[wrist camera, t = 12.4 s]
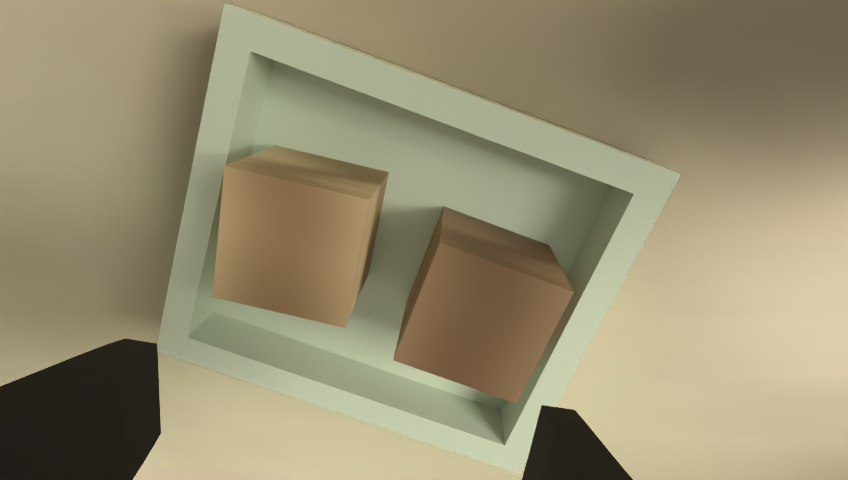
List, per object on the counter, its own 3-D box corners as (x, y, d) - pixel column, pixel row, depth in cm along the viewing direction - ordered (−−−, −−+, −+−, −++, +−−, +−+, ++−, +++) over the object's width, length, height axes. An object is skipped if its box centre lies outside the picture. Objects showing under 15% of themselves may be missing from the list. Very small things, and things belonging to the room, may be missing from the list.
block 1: (389, 172, 17) (369, 199, 13) (367, 275, 18) (344, 327, 15) (275, 145, 17) (224, 165, 13) (262, 251, 18) (212, 297, 15)
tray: (648, 159, 17) (681, 174, 15) (512, 427, 21) (519, 474, 18) (259, 13, 16) (224, 2, 14) (192, 317, 20) (155, 351, 18)
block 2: (548, 245, 18) (574, 292, 14) (505, 337, 19) (516, 403, 15) (443, 206, 17) (439, 242, 14) (406, 302, 19) (393, 360, 15)
